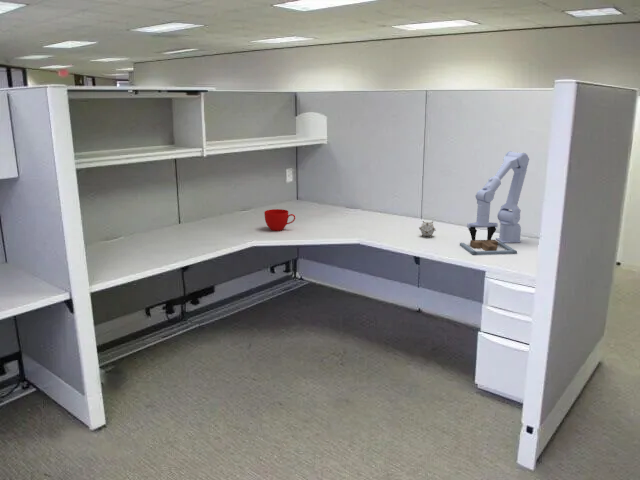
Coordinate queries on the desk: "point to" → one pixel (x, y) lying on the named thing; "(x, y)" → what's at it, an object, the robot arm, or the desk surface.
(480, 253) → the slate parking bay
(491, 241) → the walnut T-block
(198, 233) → the desk surface
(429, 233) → the grey spiky ball
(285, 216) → the ceramic cup
